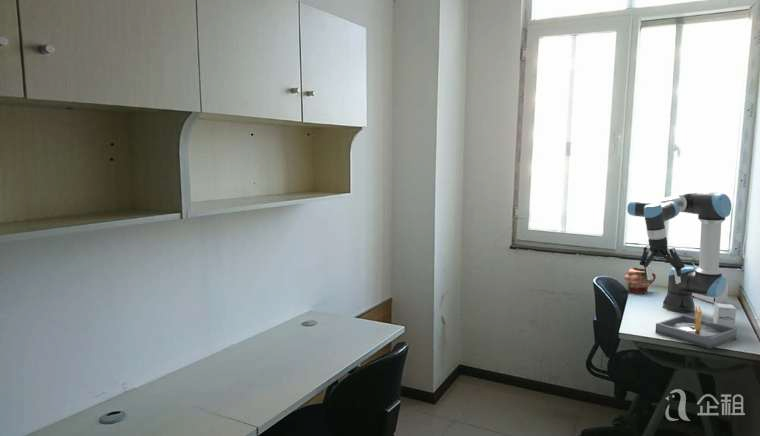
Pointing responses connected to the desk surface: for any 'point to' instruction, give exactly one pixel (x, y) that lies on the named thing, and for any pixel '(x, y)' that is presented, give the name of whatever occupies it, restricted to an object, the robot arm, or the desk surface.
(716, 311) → the supplement box
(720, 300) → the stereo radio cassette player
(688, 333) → the gray rectangular tray
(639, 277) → the orange ceramic pot
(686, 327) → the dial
